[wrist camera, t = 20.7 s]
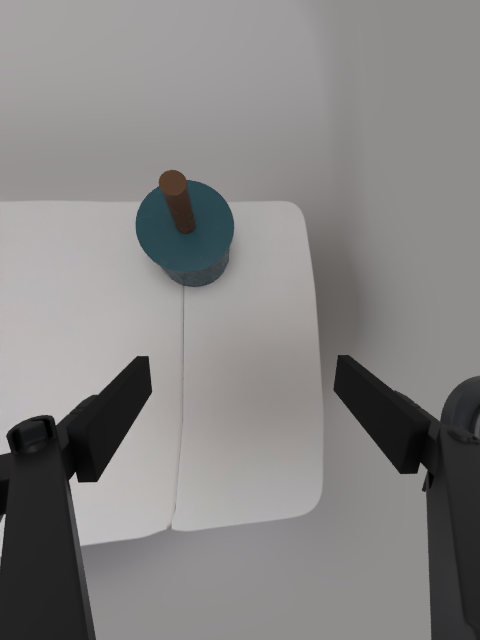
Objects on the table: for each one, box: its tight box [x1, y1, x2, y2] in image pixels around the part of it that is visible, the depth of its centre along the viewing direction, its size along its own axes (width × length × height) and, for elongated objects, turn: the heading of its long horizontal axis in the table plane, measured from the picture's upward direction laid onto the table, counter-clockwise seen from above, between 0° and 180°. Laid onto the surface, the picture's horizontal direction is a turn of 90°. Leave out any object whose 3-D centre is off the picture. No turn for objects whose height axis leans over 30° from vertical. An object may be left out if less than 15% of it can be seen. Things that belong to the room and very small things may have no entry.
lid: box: [136, 170, 234, 273], centre depth 27 cm, size 13×13×9 cm
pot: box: [161, 249, 229, 287], centre depth 36 cm, size 12×12×10 cm
